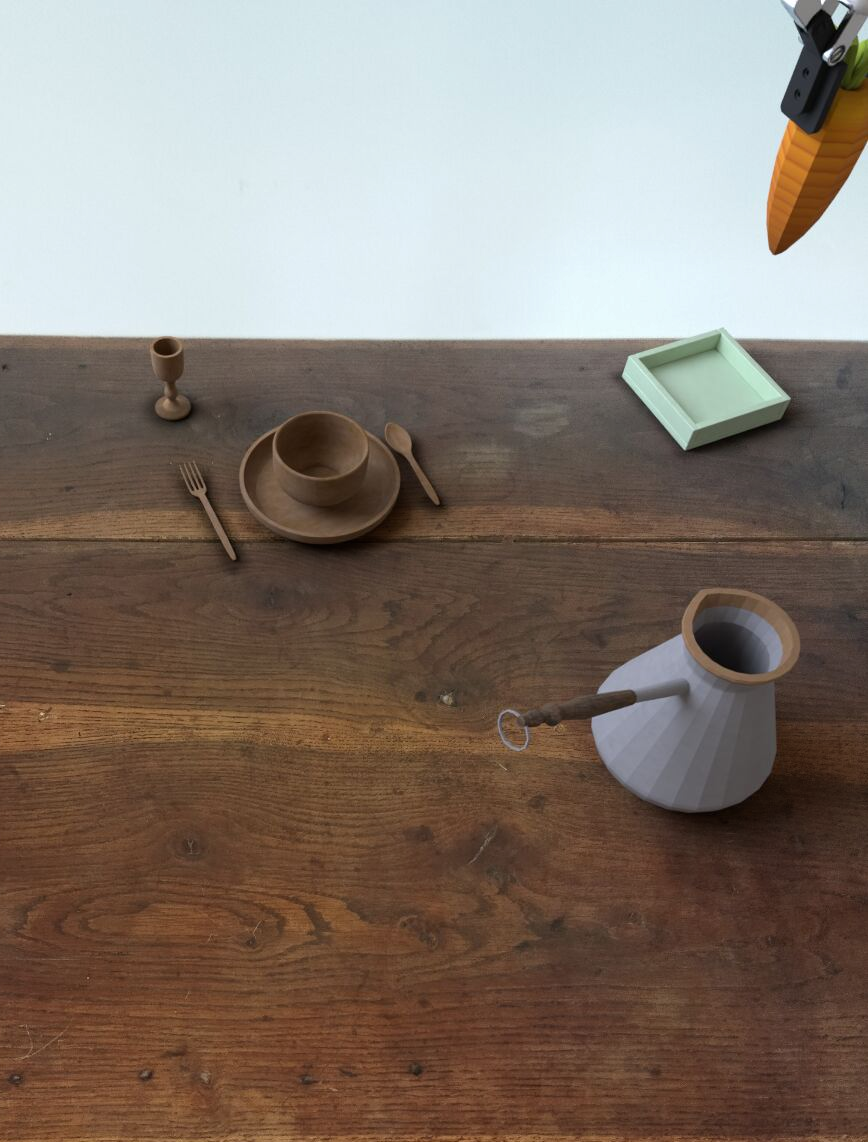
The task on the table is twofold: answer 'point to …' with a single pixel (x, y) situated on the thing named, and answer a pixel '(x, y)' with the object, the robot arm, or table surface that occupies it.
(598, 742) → the coffee pot
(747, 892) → the table surface
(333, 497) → the place setting
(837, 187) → the carrot
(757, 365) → the serving dish
